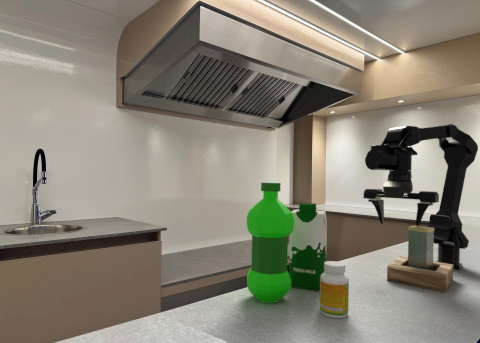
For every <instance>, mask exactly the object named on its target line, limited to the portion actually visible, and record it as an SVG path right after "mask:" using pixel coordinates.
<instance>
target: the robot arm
mask: <svg viewBox="0 0 480 343" xmlns="http://www.w3.org/2000/svg"><path fill="white" fill-rule="evenodd" d="M448 138H451V139H452V140H448ZM436 139H438V142H439V145H438V146H439V148H440V149H441V150H442V151H443V159H444V161H445V163H446V165H447V169H446V173H445V179H444V184H443V189H442V194H441V198H440V195H439V193H438V192H437V191H427V190H419V191H418V192H413V190H414V189H413V188H414V187H413V180H412V178H413V175H412V166H413V165H412V164H413V163H412V161H413V158H412V156H418V152H417V151H416V150H415V149H414V148H413V147H412V146H414V145H418V144H419V143H420V142H423V141H428V140H436ZM478 151H479V145H478V143H477V142H476V141H475V140H474V138H473V137H472V136H471V135H470V134H468V133H465V131H463V130H461V129H459V127H458V126H456V125H455V124H453V123H449V124H439V125H437V126H429V127H418V126H414V125H404V126H403V125H402V126H397V127H391V128H389V129H388V130H387V132H386V135H385V136H384V138H383V139H382V141H381V143H380V144H374V145H371V146H370V150H369V151H368V152H367V153H366V155H365V156H366V157H365V158H364V164H365V165H366V167H367V169H368V170H371V171H388V172H389V173H388V176H387V180H386V181H385V182H384V184H383V185H382V188H366V189H364V191H363V197H362V198H363V199H367V201H368V202H369V203H370V202H371V203H372V205H373V206H374V208H375V210H376V213H377V217H378V219H379V222H380V224H381V225H383V224H384V221H385V210H384V209H385V208H384V207H385V206H384V204H385V201H384V199H382V198H386V199H387V198H388V199H400V200H402V199H403V200H404V199H405V200H416V201H417V200H419V202H418V203H416V206H417V210H416V217H415V225H416V226H420V225H421V221H422V219H423V218H424V215H425V213H426V212H427V210H428V208H429V207H430V206H433V205H434V204H436V203H439V201H440V203H439V209H438V211H437V212H436V213H435V214H430V216H429V222H428V224H427V227H432V228H434V242H433V244H436V245H437V261H436V262H440V263H446V264H452V265H453V269H455V270H460V269H461V268H462V266H463V263H462V262H461V260H460V258H461V256H460V255H461V249H462V250H465V249H468V247H469V242H470V240H469V239H468V238H467V236H466V235H465V234H464V232H463V222H462V221H461V218H460V216H459V210H460V205H461V204H460V203H461V199H462V195H463V189H464V184H465V178H466V172H467V169H468V168H469V167H470V166H471V165H472V164H473V163H474V162H475V160H476V156H477V153H478ZM439 199H440V200H439Z"/></svg>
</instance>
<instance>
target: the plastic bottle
mask: <svg viewBox="0 0 480 343" xmlns="http://www.w3.org/2000/svg"><path fill="white" fill-rule="evenodd" d="M281 186H282V185H281V182H260V191H261V192H263V194H262V195H263V196H262V197H263V198H262V199H260V200H259V201H258V202H256V204H254V205H253V206H252V207H251V208H250V209H249V210H248V212H247V215H246V227H247V231H248V233H250V235H251V263H250V264H251V266H250V268H249V269H248V272H247V273H246V274H247V275H246V286H247V289H248V291H249V293H250V294H251V295H252V296H253V297H254V298H256V300H258V301H259V302H260V303H261V302H262V303H268V304H269V303H270V304H271V303H272V304H273V303H277V302H280V301H281V299H283V298H284V297H285V296H286V295H287V294H288V293H289V292H290V290H291V288H292V287H291V278H290V274H289V270H288V253H289V239H288V238H289V235H290V234H291V233H292V232H293V228H294V217H293V214H292V211H291V210H290V209H289V207H287V206H286V205H285V204H284V203H283V202H282V201H280V200H279V198H278V196H279V192H281Z"/></svg>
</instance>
